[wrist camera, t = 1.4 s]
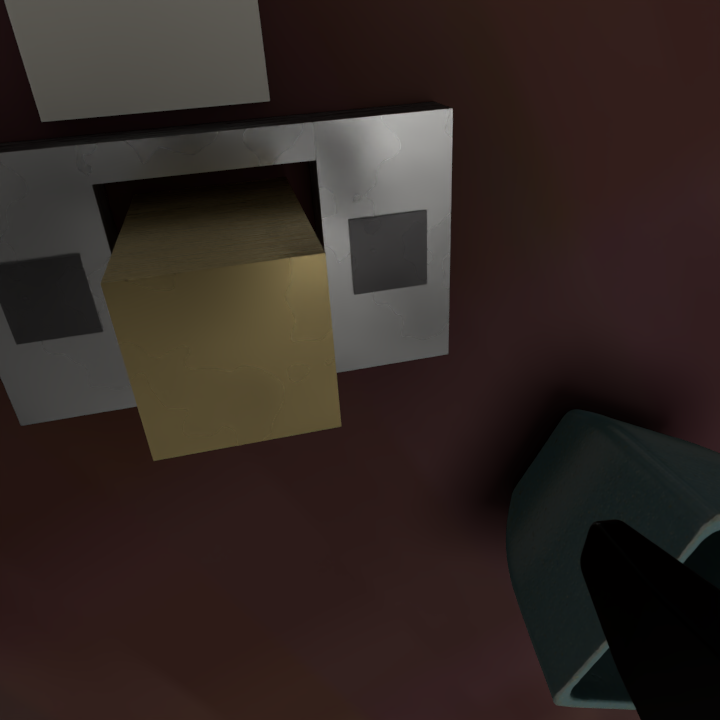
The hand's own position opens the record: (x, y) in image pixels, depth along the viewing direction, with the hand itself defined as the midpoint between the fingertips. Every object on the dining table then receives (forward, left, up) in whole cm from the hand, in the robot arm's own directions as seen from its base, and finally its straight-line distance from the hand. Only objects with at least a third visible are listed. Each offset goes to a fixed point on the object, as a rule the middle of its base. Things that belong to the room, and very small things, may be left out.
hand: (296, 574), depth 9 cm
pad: (-2, +8, -13) cm, 15 cm away
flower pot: (+13, -12, -13) cm, 22 cm away
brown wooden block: (-1, 0, -13) cm, 13 cm away
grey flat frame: (-1, 0, -13) cm, 13 cm away
